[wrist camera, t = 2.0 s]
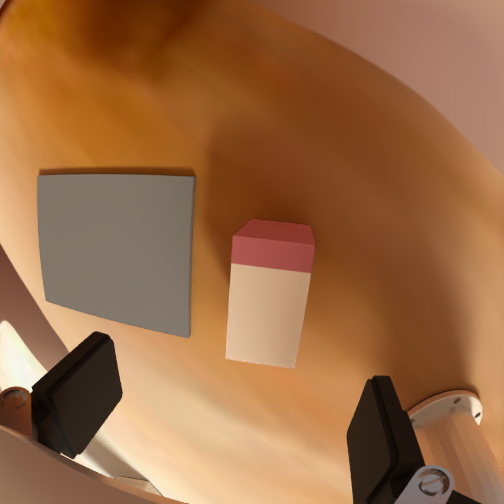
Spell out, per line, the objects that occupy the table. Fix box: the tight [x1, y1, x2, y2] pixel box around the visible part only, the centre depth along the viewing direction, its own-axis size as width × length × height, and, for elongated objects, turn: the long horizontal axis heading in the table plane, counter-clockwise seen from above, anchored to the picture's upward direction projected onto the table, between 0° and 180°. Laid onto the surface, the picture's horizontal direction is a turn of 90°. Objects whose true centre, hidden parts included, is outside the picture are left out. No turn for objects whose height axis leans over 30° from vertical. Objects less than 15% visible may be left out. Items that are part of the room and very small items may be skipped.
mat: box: [37, 174, 196, 338], centre depth 26 cm, size 14×18×1 cm
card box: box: [226, 219, 315, 369], centre depth 21 cm, size 8×4×7 cm, turn 175°
